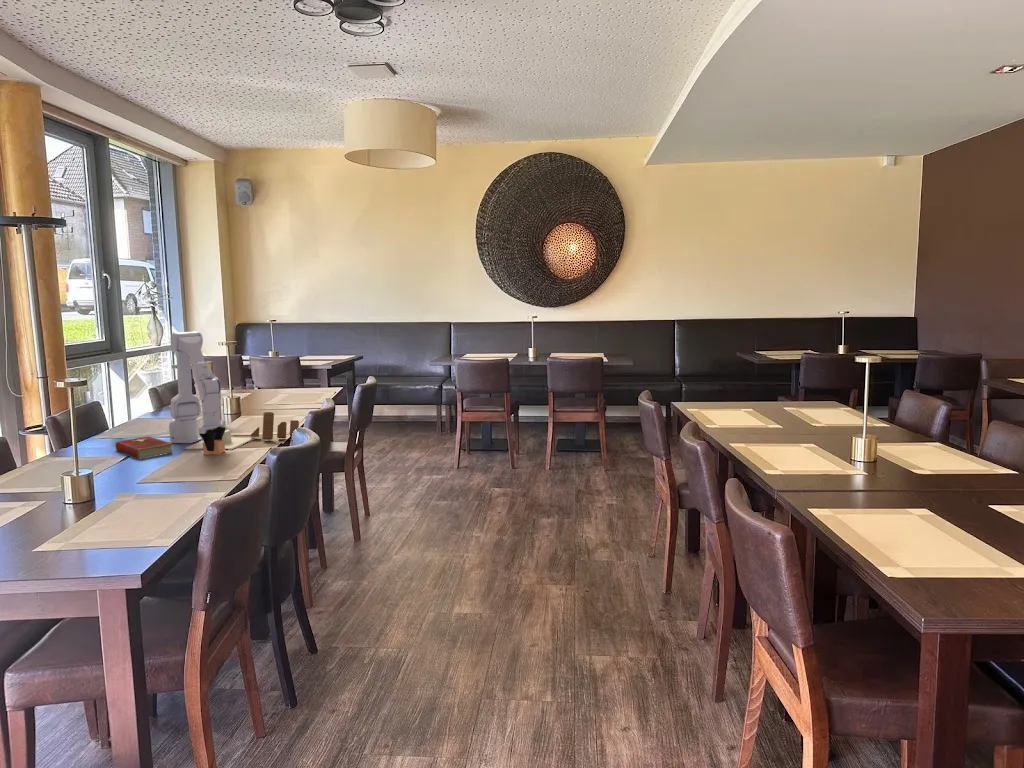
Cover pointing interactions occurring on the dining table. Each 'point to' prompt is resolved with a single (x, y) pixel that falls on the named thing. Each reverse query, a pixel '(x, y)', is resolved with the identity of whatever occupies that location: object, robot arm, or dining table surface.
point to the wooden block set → (268, 427)
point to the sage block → (227, 436)
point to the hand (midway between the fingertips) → (214, 449)
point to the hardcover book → (143, 447)
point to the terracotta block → (215, 447)
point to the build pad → (231, 445)
